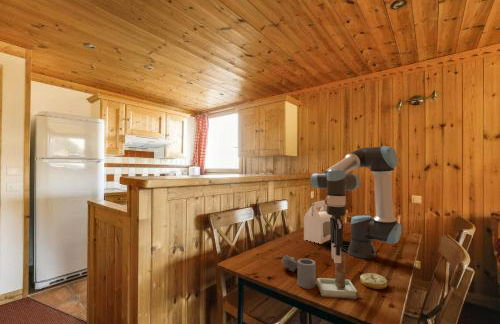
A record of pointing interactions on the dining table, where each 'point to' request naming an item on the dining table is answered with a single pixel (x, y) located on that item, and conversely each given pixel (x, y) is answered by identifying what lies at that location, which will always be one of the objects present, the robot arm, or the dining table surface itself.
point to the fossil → (289, 263)
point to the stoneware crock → (306, 273)
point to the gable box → (317, 223)
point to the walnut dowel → (340, 272)
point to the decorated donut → (373, 281)
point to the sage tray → (336, 289)
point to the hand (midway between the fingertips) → (336, 260)
